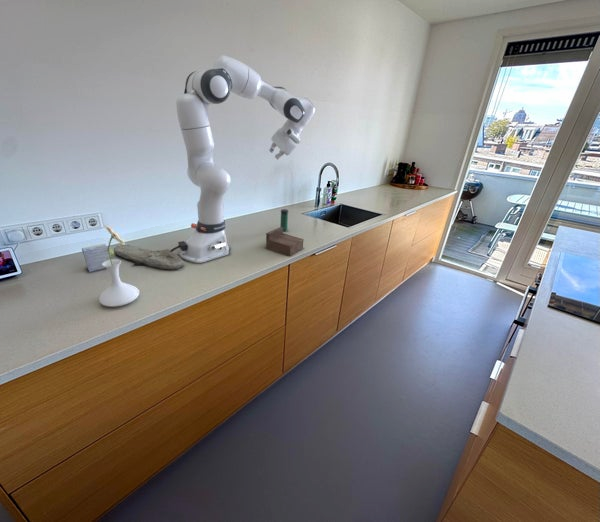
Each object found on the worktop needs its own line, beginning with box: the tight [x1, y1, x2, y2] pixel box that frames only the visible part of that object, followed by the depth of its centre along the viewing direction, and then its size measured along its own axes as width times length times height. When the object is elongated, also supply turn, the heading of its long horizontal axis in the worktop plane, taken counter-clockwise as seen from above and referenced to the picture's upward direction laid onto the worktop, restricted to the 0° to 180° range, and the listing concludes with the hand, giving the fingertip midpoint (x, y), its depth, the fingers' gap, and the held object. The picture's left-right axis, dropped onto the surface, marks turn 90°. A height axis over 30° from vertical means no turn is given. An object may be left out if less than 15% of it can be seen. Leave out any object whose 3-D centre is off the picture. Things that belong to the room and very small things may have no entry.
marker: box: [279, 208, 289, 233], centre depth 163 cm, size 4×4×12 cm
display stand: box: [265, 226, 304, 257], centre depth 140 cm, size 12×14×8 cm
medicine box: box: [81, 243, 110, 273], centre depth 111 cm, size 8×4×9 cm, turn 134°
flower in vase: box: [98, 224, 140, 308], centre depth 90 cm, size 13×11×25 cm
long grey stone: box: [113, 244, 184, 270], centre depth 120 cm, size 35×5×10 cm
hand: (273, 154), depth 146 cm, fingers open, 8 cm apart
